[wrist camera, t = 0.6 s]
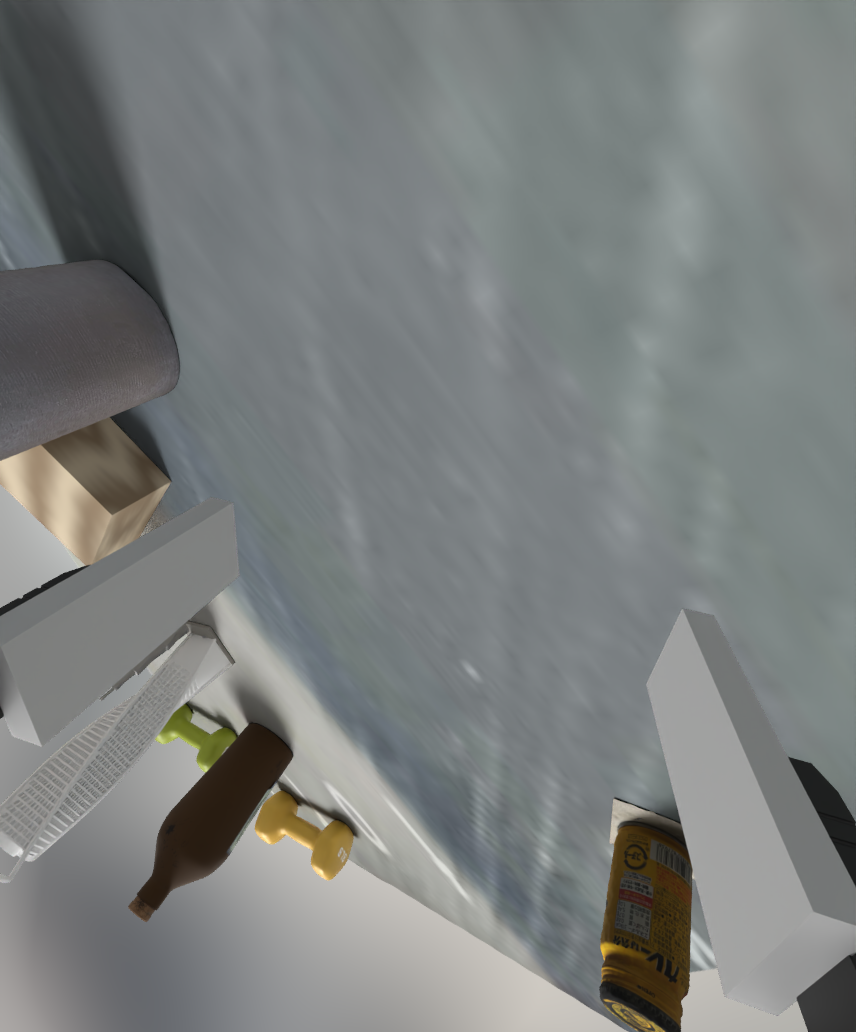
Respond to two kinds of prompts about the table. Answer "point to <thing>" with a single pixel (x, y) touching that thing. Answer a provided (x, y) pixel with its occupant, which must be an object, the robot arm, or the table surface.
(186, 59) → the table surface
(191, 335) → the table surface
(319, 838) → the dumbbell
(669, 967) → the condiment
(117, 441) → the oak block
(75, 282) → the pillar candle
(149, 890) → the olive oil
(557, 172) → the table surface
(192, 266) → the table surface
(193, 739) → the dumbbell
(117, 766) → the skyscraper
